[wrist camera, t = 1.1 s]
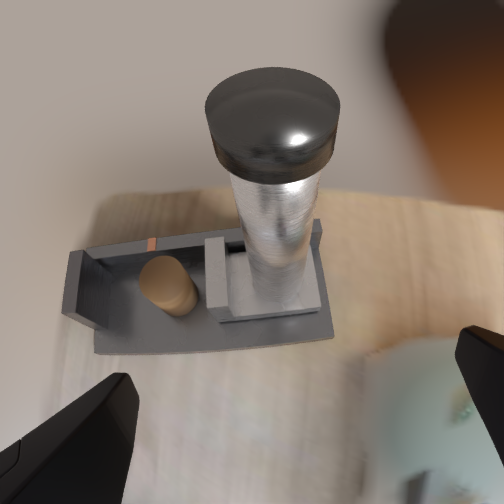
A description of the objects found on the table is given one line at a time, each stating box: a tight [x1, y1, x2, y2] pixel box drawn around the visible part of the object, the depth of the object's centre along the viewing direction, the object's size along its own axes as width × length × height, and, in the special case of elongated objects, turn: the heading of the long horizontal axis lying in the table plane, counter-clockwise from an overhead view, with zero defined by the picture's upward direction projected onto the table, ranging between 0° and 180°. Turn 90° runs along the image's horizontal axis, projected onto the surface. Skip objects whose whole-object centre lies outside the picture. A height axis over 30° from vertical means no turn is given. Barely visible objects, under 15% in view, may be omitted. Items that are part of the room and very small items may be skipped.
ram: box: [205, 67, 340, 322], centre depth 14 cm, size 7×4×15 cm, turn 95°
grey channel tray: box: [62, 219, 334, 355], centre depth 20 cm, size 17×8×5 cm, turn 95°
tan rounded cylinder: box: [139, 256, 199, 317], centre depth 20 cm, size 3×3×4 cm
